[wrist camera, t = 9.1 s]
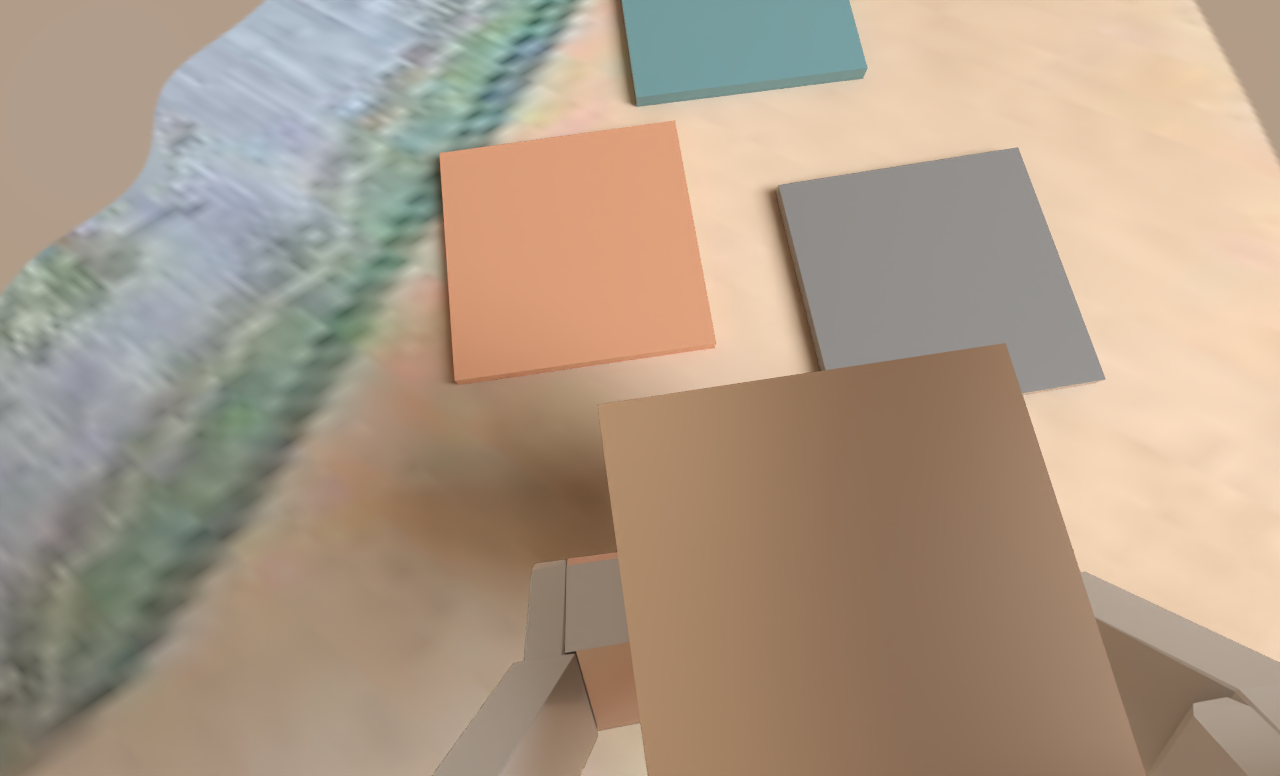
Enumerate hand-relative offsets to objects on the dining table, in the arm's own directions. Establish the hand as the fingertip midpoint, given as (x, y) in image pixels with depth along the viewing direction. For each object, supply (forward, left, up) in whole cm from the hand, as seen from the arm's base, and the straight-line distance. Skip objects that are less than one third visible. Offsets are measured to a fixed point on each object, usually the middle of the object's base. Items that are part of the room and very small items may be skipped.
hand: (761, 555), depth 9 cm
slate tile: (+8, +7, -8) cm, 13 cm away
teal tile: (+4, +19, -8) cm, 21 cm away
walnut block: (0, 0, -5) cm, 5 cm away
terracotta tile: (-3, +10, -8) cm, 13 cm away
